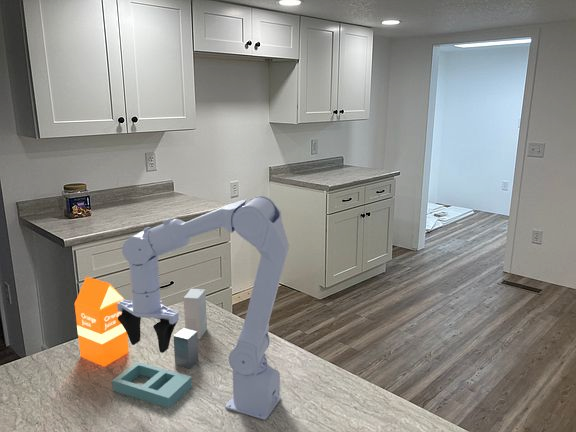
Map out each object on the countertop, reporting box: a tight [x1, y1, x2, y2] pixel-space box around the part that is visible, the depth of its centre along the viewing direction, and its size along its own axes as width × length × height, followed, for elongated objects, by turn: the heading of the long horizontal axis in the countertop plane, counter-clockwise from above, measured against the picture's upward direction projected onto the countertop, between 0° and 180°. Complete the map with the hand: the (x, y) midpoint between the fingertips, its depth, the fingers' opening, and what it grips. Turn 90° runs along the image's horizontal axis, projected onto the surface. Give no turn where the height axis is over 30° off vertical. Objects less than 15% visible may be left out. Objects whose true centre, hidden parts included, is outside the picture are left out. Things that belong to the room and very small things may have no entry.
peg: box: [173, 327, 199, 370], centre depth 113 cm, size 4×4×8 cm
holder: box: [111, 361, 193, 409], centre depth 104 cm, size 15×8×2 cm, turn 67°
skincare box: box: [183, 288, 208, 340], centre depth 126 cm, size 6×4×12 cm
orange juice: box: [74, 276, 130, 367], centre depth 115 cm, size 8×9×20 cm
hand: (149, 346), depth 101 cm, fingers open, 7 cm apart
